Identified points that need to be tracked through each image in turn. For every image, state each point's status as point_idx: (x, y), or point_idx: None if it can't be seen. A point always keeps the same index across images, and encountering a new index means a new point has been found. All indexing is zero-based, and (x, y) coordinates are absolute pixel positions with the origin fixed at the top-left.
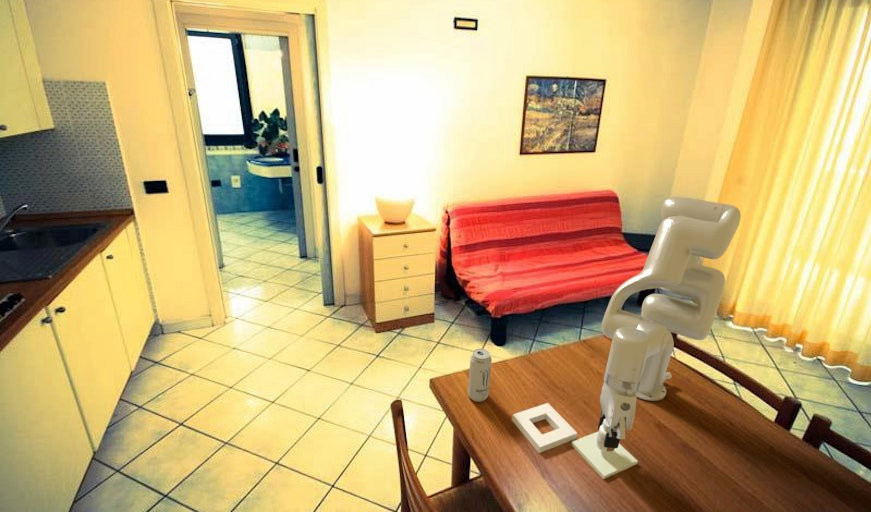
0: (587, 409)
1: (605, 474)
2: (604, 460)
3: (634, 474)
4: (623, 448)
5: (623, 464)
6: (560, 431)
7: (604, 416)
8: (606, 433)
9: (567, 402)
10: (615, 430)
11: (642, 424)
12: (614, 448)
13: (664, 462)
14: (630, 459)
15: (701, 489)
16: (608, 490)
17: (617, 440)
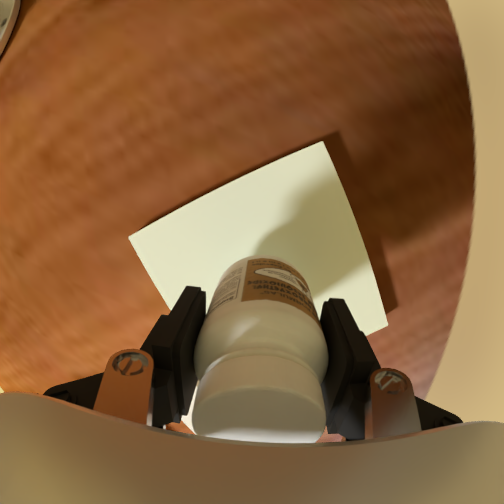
0: (41, 255)
1: (382, 318)
2: (319, 302)
3: (372, 182)
4: (243, 181)
5: (343, 223)
6: (191, 416)
7: (167, 419)
8: (332, 433)
9: (37, 313)
10: (320, 392)
11: (90, 47)
12: (301, 278)
13: (297, 20)
14: (314, 174)
15: None
16: (420, 312)
17: (379, 365)
